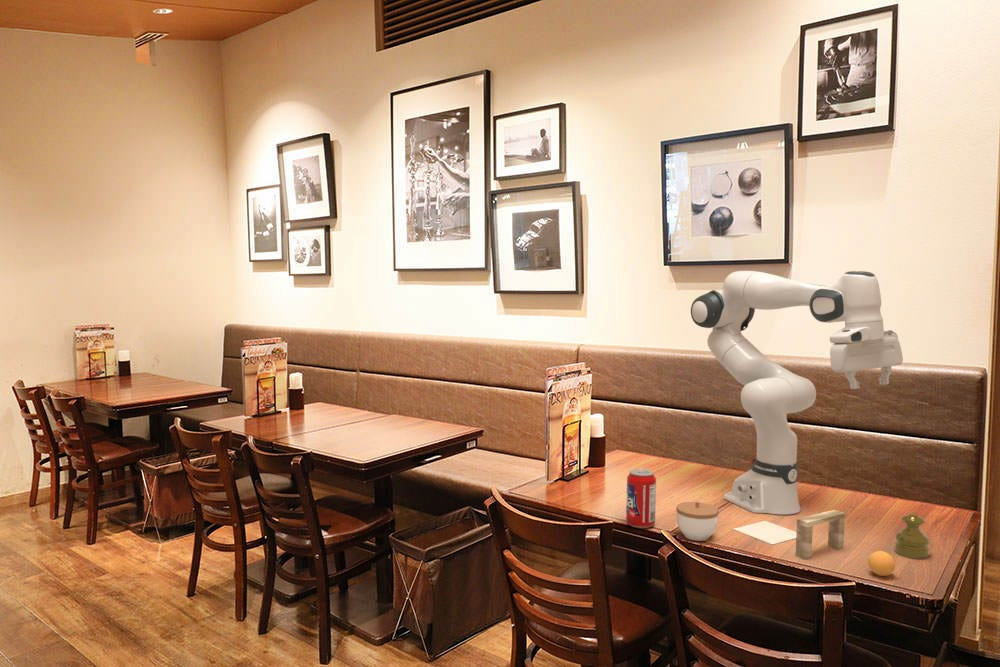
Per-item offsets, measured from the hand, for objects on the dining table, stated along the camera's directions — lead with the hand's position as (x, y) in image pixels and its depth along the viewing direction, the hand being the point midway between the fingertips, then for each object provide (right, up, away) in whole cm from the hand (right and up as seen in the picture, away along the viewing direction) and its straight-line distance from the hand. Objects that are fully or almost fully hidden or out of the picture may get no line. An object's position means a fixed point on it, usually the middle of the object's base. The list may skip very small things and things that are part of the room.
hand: (869, 386), depth 188 cm
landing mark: (-24, -40, +7) cm, 47 cm away
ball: (-8, -39, -20) cm, 45 cm away
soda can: (-57, -39, +12) cm, 70 cm away
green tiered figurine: (+7, -41, -7) cm, 42 cm away
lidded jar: (-44, -40, +4) cm, 59 cm away
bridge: (-16, -41, -6) cm, 44 cm away
